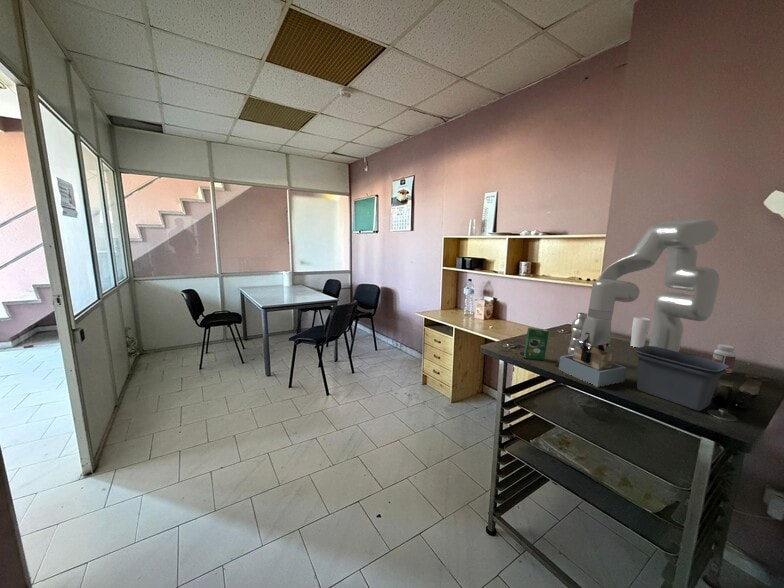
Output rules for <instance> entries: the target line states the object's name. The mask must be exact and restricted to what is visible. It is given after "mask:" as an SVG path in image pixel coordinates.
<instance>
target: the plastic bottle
mask: <svg viewBox="0 0 784 588" xmlns="http://www.w3.org/2000/svg"><path fill="white" fill-rule="evenodd" d="M587 316H588V313H585V312H577V314H576V318H575V319H574V320H573V321H572V323H571V337H570V343H569V346H568V348H567V349H568V350H567V355H574V350H575V347H579V346H580V344H579V341H580V339H581V333H582V329H583V325H584V322H585V320H586V317H587Z"/></svg>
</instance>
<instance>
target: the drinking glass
mask: <svg viewBox="0 0 784 588" xmlns="http://www.w3.org/2000/svg"><path fill="white" fill-rule="evenodd" d="M651 321H652V320H651V319H650V318H647V317H642V316H634V317H633V319H632V325H631V335H630V337H631V338H630V347H631V346H633V347H632V348H634V347H638V348H639V347H643V346H645V343H646V341H647V337H648V333H649V330H650V327H651Z"/></svg>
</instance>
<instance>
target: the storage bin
mask: <svg viewBox="0 0 784 588" xmlns="http://www.w3.org/2000/svg"><path fill="white" fill-rule="evenodd" d="M634 350H635V351H636V352H635V353H634V356H635V357H637V358H638V362H637V363H638V364H637V382H636V383H637V384H636V388H637V390H638V391H640V392H643V393H646V394H649V395H652V396H655V397H657V398H661V399H663V400H666V401H669V402H671V403H675V404H677V405H679V406H683V407H685V408H688V409H691V410H694V411H698V412H701V411H702V410H704V409H706V408H707V407H709V406H710V405H711V403H712V398H713V397H714V394H715V391H716V389H717V385H718V383H719V380H720V377H721V376H724V375H727V374H726V373H727V370H726V368H728V367H729V366H728V365H726V364H723V363H719V362H716V361H712V359H709V358H703V357H699V356H695V355H692V354H688V353H683V352H680V351H679V352H676V351H672V350H668V349H664V348H660V347H654V346H649V345H644V346H643V347H639V348H634Z"/></svg>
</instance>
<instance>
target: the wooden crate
mask: <svg viewBox="0 0 784 588" xmlns="http://www.w3.org/2000/svg"><path fill="white" fill-rule="evenodd" d="M587 347H588V348H589V346H588V345H587ZM590 353H591V358H590V363H586V362H584V361H581V354H582V350H581V347H580V346H579V347H575V350H574V356H573V360H576V361H578V362H581V363H583V364H586V365H588V366H591V367H593V368H596V369H605V368H611V366H612V362H613V359H614V354H613V353H611V352H608V351H602V350H599V349H598V348H597V349H596V348H595V347H594V346H593V347H592V349H591V351H590Z"/></svg>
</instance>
